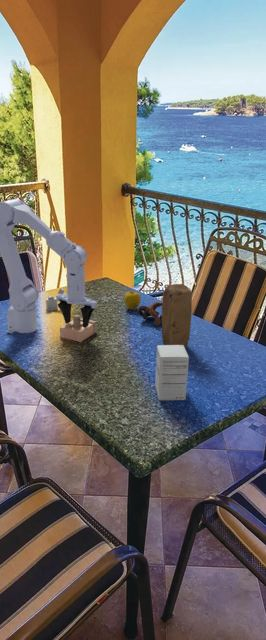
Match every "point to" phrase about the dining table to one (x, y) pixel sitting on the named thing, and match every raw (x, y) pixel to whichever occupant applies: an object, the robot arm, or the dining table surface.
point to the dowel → (76, 321)
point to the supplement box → (171, 372)
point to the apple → (132, 300)
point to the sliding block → (76, 331)
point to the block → (176, 314)
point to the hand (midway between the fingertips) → (76, 324)
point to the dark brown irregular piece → (151, 312)
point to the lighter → (53, 301)
